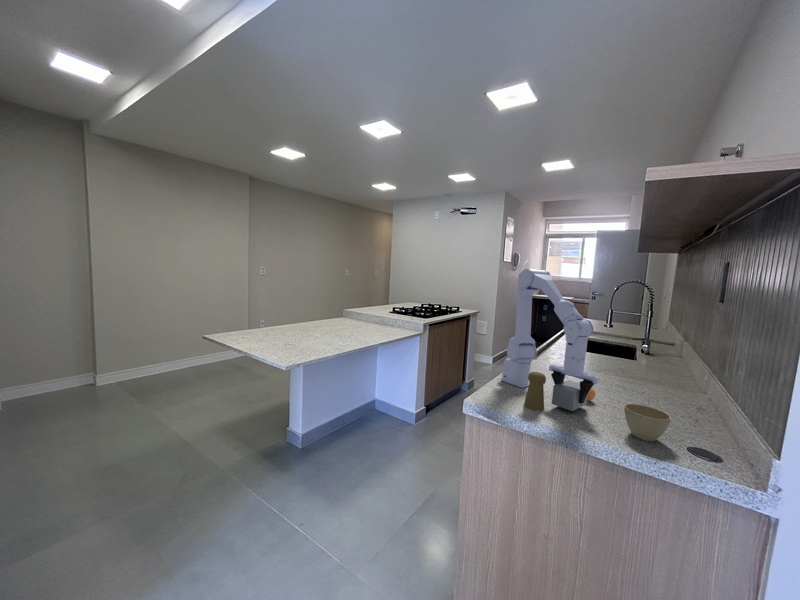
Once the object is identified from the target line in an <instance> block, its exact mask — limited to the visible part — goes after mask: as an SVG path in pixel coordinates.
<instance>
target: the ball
mask: <svg viewBox="0 0 800 600" xmlns="http://www.w3.org/2000/svg"><path fill="white" fill-rule="evenodd" d="M595 398H596V390H595V389H594V388H593V387H592V388H591V389H590V390H589V392H588V399H587V402H588V401H589V402H590V401H593V400H594V399H595Z"/></svg>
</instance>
